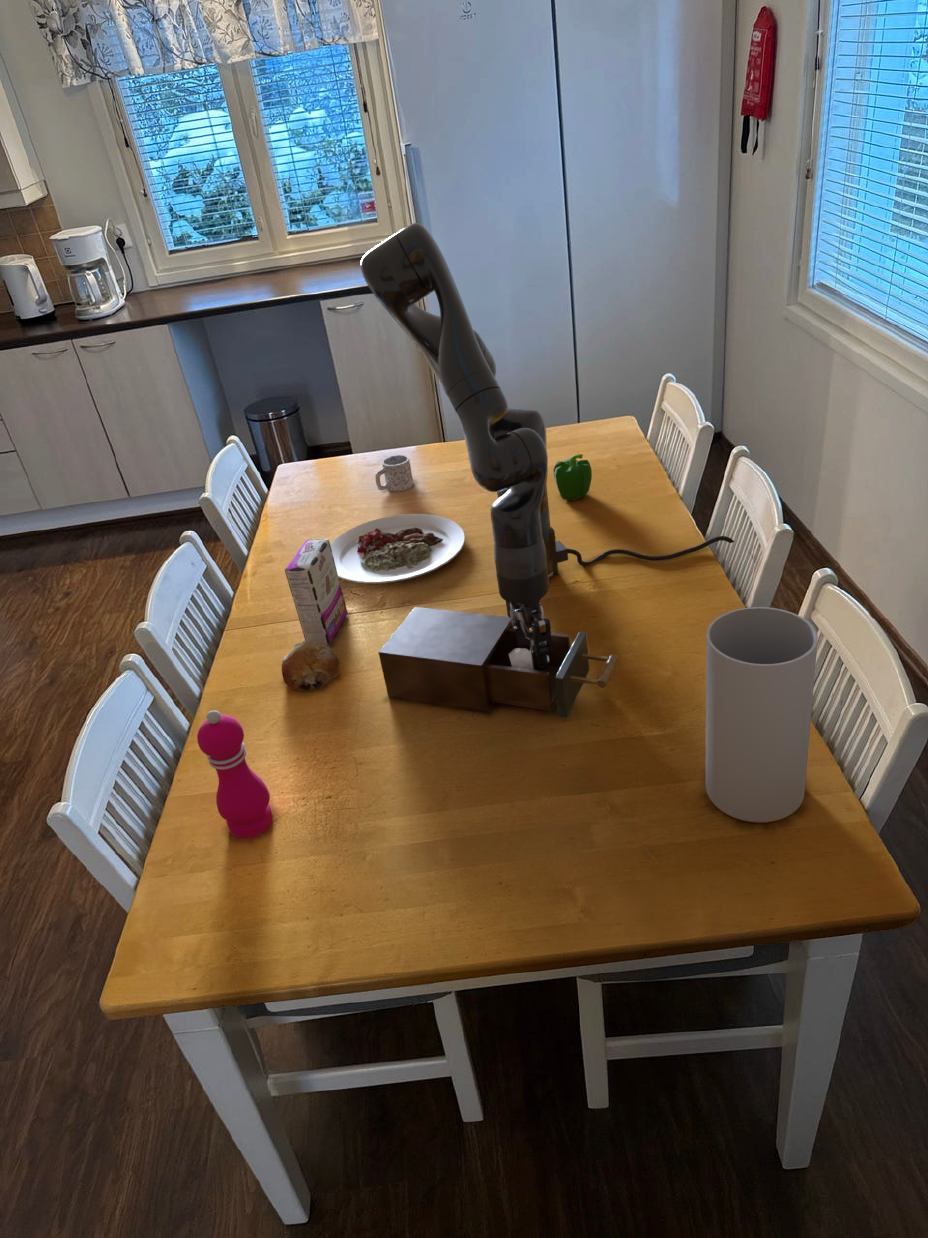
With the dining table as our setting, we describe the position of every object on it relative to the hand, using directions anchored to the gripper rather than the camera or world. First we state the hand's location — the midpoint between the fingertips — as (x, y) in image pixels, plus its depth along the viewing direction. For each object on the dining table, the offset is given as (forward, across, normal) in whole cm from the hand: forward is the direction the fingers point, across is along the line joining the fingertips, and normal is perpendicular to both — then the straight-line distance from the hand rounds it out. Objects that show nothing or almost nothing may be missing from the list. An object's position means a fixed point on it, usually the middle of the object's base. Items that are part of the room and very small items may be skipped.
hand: (532, 656), depth 142 cm
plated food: (+7, +59, +9) cm, 60 cm away
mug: (+7, +93, +1) cm, 93 cm away
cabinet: (+7, +9, +11) cm, 16 cm away
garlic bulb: (+4, 0, 0) cm, 4 cm away
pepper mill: (+7, -10, +47) cm, 49 cm away
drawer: (+6, -1, -1) cm, 6 cm away
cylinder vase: (+7, -34, -18) cm, 39 cm away
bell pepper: (+7, +64, -34) cm, 73 cm away
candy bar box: (+7, +36, +28) cm, 46 cm away
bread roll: (+7, +22, +33) cm, 40 cm away
